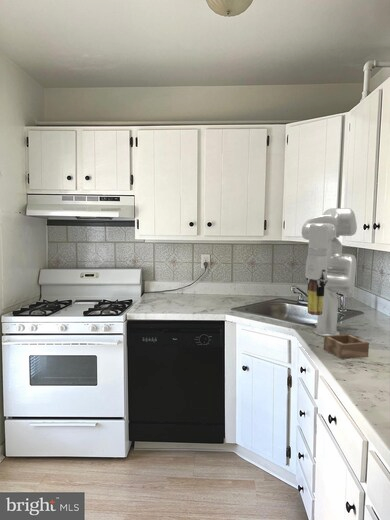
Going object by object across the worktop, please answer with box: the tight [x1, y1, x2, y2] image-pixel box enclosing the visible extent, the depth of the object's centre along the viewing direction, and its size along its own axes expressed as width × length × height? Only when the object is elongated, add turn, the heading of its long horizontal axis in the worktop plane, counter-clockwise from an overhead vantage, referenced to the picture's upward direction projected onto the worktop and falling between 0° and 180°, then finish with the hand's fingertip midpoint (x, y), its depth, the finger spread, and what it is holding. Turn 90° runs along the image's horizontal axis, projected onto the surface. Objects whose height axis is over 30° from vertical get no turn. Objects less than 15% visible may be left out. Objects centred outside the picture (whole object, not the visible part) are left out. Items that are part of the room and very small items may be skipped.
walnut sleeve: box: [323, 333, 370, 360], centre depth 162 cm, size 13×13×6 cm
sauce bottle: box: [307, 279, 323, 316], centre depth 158 cm, size 6×6×20 cm
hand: (315, 294), depth 158 cm, fingers closed on sauce bottle, 6 cm apart
